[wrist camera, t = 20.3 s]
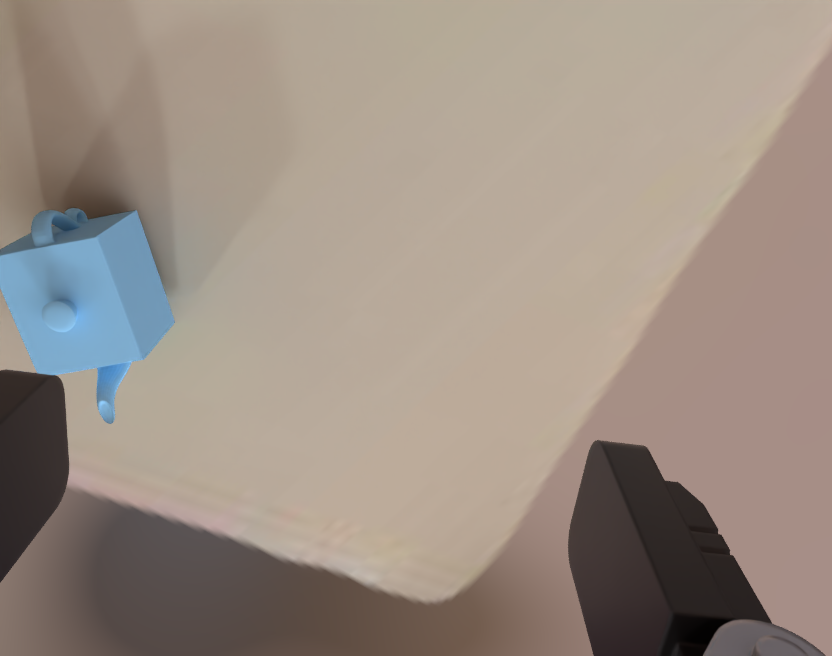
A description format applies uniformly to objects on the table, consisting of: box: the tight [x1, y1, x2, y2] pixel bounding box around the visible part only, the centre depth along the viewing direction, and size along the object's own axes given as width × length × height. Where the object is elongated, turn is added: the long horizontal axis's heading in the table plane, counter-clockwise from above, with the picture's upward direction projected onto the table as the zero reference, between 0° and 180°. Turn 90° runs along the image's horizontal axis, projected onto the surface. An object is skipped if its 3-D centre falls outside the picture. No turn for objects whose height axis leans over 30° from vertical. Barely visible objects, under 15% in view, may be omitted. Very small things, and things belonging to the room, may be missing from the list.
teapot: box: [0, 208, 175, 424], centre depth 42 cm, size 12×6×8 cm, turn 11°
